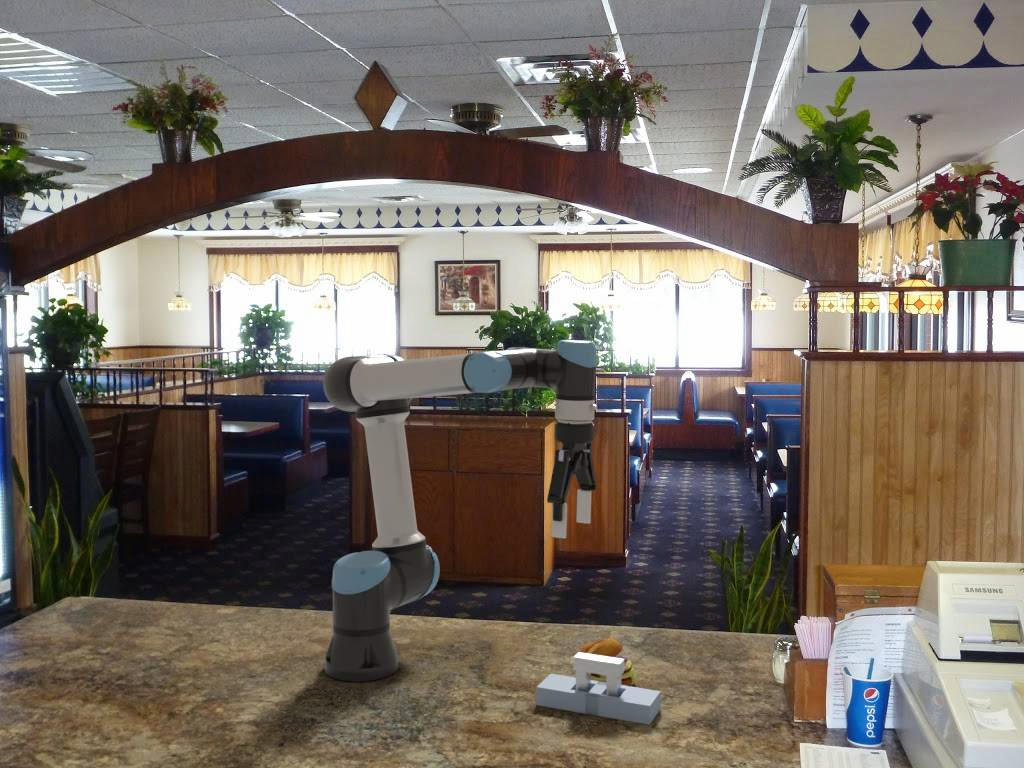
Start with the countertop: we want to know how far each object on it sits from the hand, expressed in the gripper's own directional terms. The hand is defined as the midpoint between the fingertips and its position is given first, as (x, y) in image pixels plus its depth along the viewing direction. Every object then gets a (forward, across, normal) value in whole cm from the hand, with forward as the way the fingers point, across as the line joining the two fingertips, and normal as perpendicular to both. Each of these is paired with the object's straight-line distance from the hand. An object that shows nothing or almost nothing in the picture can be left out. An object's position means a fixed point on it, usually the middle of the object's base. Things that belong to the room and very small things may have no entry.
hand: (571, 530), depth 195 cm
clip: (+32, -6, -8) cm, 33 cm away
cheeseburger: (+32, +7, -6) cm, 33 cm away
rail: (+32, -6, -8) cm, 33 cm away
